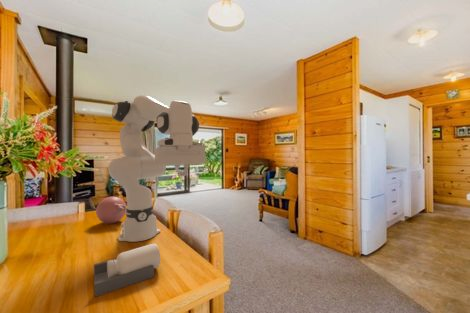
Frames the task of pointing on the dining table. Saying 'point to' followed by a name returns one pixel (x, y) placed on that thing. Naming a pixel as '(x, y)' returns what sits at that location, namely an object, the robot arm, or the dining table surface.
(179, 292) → the dining table surface
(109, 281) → the u rest
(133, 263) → the pill bottle
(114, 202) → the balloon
